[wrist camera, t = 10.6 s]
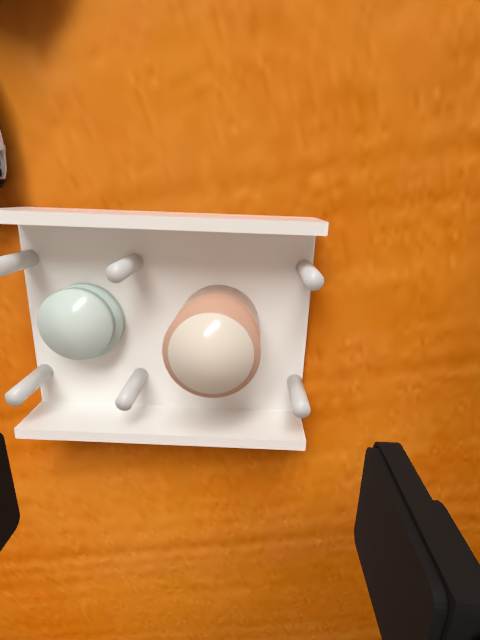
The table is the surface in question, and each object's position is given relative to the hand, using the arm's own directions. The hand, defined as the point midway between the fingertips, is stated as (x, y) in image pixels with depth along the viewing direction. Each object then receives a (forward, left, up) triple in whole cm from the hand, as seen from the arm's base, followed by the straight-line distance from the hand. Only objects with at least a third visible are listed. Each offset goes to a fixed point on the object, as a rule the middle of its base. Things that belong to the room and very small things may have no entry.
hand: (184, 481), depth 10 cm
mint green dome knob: (+10, +2, -20) cm, 22 cm away
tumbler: (+1, +2, -20) cm, 20 cm away
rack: (+4, +2, -21) cm, 21 cm away
